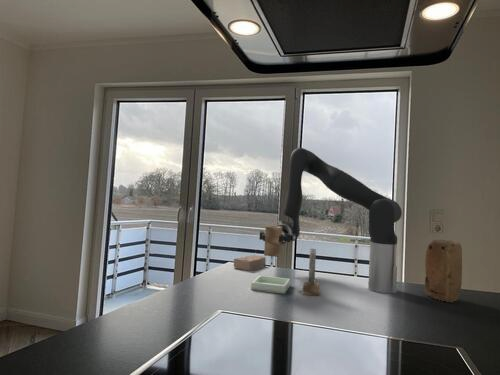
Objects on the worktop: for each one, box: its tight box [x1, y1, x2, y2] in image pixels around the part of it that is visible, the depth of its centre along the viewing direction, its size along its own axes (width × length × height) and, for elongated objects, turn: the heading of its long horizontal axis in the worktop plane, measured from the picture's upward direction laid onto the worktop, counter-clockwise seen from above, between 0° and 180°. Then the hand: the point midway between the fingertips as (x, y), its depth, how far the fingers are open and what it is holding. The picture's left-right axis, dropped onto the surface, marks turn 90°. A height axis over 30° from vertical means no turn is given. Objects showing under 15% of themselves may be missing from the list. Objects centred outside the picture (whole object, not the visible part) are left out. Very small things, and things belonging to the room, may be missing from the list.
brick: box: [233, 254, 267, 271], centre depth 160 cm, size 17×8×5 cm, turn 152°
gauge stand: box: [302, 248, 320, 297], centre depth 122 cm, size 5×5×15 cm
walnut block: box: [263, 225, 282, 258], centre depth 126 cm, size 5×5×10 cm
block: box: [424, 239, 463, 303], centre depth 123 cm, size 11×8×20 cm
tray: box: [250, 275, 291, 295], centre depth 126 cm, size 12×12×2 cm
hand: (272, 238), depth 124 cm, fingers closed on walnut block, 5 cm apart
